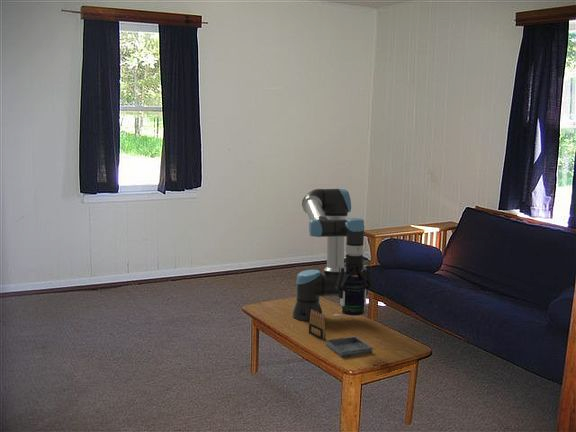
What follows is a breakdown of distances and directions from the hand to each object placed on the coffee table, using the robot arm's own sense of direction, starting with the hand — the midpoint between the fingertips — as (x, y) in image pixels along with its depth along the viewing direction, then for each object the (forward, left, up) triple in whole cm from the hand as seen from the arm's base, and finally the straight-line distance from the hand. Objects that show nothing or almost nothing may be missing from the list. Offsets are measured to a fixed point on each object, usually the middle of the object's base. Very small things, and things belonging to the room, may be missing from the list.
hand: (353, 304), depth 288 cm
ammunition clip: (-19, -8, -20) cm, 29 cm away
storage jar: (0, 0, -4) cm, 4 cm away
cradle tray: (+1, -2, -20) cm, 20 cm away
